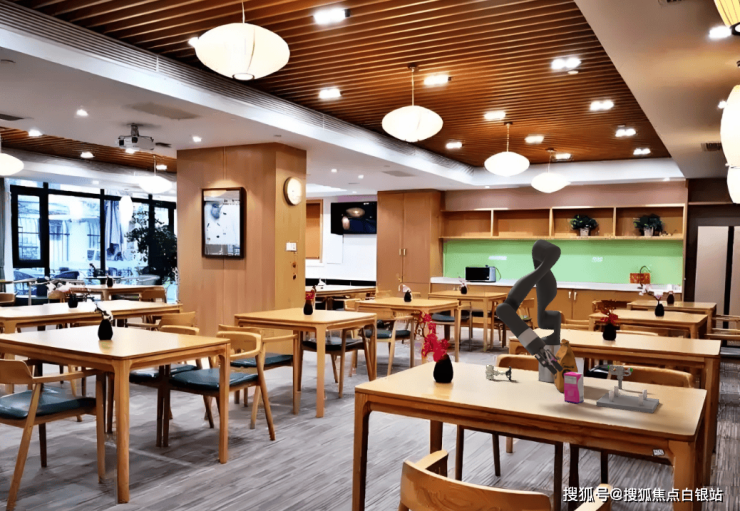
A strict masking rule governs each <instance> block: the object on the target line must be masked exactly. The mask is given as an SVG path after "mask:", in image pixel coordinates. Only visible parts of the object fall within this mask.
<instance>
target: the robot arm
mask: <svg viewBox="0 0 740 511" xmlns="http://www.w3.org/2000/svg"><path fill="white" fill-rule="evenodd" d="M561 255H562V250H561V247H560V246H559V245H557V244H554V243H552V242H550V241H548V240H545V239H541V238H539V239H537V240H536V241H535V242H534V243H533V245H532V248H531V257H532V258H531V259H532V263H533V267H534V270H533V271H531V272H530V273H527V274H525V275H523V276H521V277H520V278H519V279H518V280H517V281H516V282H515V283H514V284H513V286H512V287H511V289H510V290H509V291H508V293H507V297H506V298H505V300H504V302H502V303H501V302H500V303H499V304H498V305H497V306H496V308H495V309H496V310H495V314H496V316H497V318H498V319H499V320H500V321H502V322H503V323H504V325H506V327H508V328H509V330H510V332H511V333H512V334H513V336H514V337H516V339H517V340H518V341H519V343H520V344H521V346H523V347H524V349H525V350H526V351H527V352H528V353H529V354H530V355H531V356H532V357H533V356H534V359H536V361H538V381H541V382H546V383H555V380H554V375H555V374H556V373H557V372H558V371H559V372H561V371H562V370H563V367H562V366H561V365H560V364H559V363H558V361H557V360H558V359H557V358H556V357H555V356H556V353H557V352H558V350H559V349H560V347H561V329H562V313H561V311H560V310H549V309H547V307H548V306H550V305H551V303H552V302H553V301H554V299H555V298H556V296H557V294H558V284H557V278H556V276H555V275H554V273H553V272H552V268H553V267H554V266H555V265H556V264H557V262H558V261H559V259H560V257H561ZM534 287H535V292H536V293H535V294H536V304H537V305H536V306H537V309H536V310H537V311H536V321H537V322H536V323H537V327H538V329H540V330H545V331H546V330H548V331H549V330H550V331H552V332H551V334H549V335H546V336H542V337H541V336H540V335H538V334H537V333H536V331H535V330H533V329H532V328H531V327H530V326H529V325H528V324H527V322H526V321H525V320H523V319H522V318H521V317H520V315H519V314H518V313H517V312H518V310H519V309H520V306H521V304H522V303H523V302H524V301H525V299H526V297H528V296H529V294H530V292H531V291H532V289H533V288H534ZM554 367H555V368H556V369H557V370H558V371H557V370H556V369H555V368H554Z"/></svg>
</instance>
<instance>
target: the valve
mask: <svg viewBox="0 0 740 511" xmlns="http://www.w3.org/2000/svg"><path fill="white" fill-rule="evenodd" d="M512 371H513V370H512V366H509V367H508V370H506V371H505V372H504V371H503V370H501V371H500V370H498V369H495V365H493V364H486V365H485V380H487V379H491V380H490V381H492V379H493V380H494V379H495V377H498V376H499V375H500V376H504V375H505V376H506V378H507V379H508V381H509V380H511V381H512Z"/></svg>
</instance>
